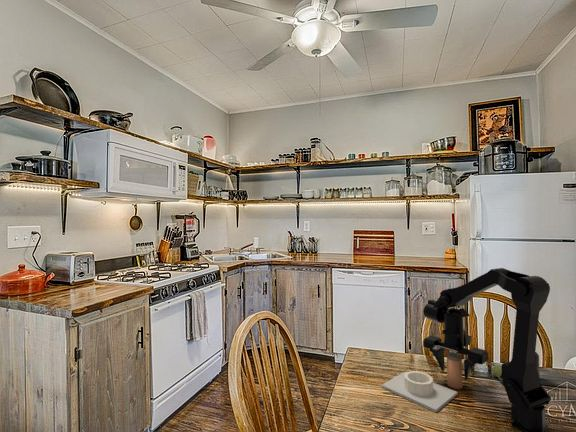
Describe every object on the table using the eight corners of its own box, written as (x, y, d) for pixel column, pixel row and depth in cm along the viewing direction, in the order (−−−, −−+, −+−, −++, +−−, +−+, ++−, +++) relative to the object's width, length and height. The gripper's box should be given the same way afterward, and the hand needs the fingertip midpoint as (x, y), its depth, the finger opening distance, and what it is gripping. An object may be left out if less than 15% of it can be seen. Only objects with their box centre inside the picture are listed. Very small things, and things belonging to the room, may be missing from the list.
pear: (503, 370, 104) (486, 361, 114) (505, 388, 103) (488, 377, 113) (521, 370, 104) (502, 361, 114) (523, 388, 103) (504, 377, 113)
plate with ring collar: (457, 394, 101) (457, 380, 101) (436, 412, 92) (435, 397, 92) (404, 373, 115) (404, 361, 115) (381, 387, 106) (381, 374, 106)
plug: (464, 385, 106) (464, 355, 106) (458, 390, 103) (458, 359, 103) (450, 380, 109) (450, 351, 109) (444, 385, 106) (444, 354, 107)
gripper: (494, 328, 104) (495, 377, 104) (437, 315, 119) (437, 358, 119) (481, 337, 97) (482, 389, 97) (421, 322, 111) (422, 367, 111)
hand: (454, 374), depth 106 cm, fingers open, 7 cm apart
